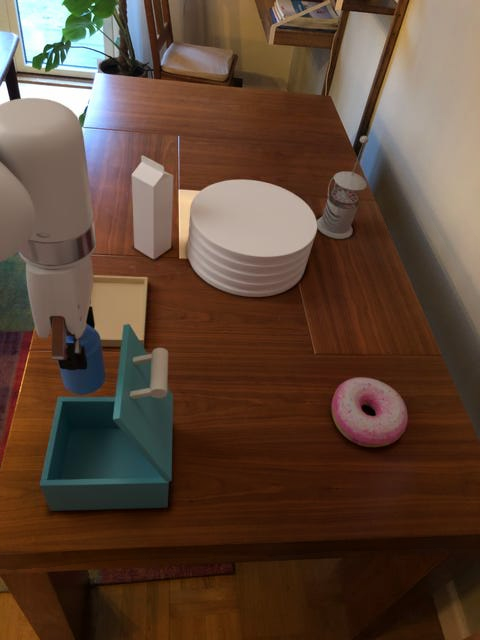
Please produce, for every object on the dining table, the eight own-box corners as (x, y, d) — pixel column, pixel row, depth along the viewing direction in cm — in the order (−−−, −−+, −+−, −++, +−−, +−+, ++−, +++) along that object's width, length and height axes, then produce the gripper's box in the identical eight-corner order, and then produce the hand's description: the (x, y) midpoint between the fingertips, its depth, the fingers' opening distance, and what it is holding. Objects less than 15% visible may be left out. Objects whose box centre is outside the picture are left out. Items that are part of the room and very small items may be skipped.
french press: (326, 240, 120) (356, 148, 102) (307, 213, 127) (332, 122, 109) (359, 236, 123) (395, 146, 105) (339, 210, 130) (369, 121, 112)
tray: (143, 347, 90) (143, 340, 89) (71, 346, 88) (69, 338, 86) (147, 284, 101) (147, 277, 100) (83, 282, 99) (82, 274, 98)
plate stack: (328, 276, 111) (342, 237, 103) (224, 312, 99) (231, 271, 91) (264, 210, 126) (272, 171, 117) (167, 233, 114) (168, 192, 105)
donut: (391, 389, 91) (401, 374, 87) (409, 454, 82) (421, 440, 78) (323, 385, 90) (330, 369, 86) (334, 450, 81) (342, 436, 77)
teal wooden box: (50, 510, 68) (39, 485, 62) (66, 426, 77) (58, 396, 71) (167, 507, 71) (168, 482, 64) (169, 426, 80) (170, 397, 73)
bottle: (71, 401, 63) (56, 344, 54) (57, 370, 66) (42, 311, 57) (111, 385, 65) (104, 328, 56) (97, 356, 68) (88, 297, 59)
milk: (151, 236, 112) (151, 149, 96) (171, 248, 110) (174, 161, 94) (133, 248, 109) (130, 159, 93) (153, 260, 107) (153, 172, 91)
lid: (112, 419, 51) (158, 410, 50) (123, 324, 60) (162, 316, 60) (165, 482, 64) (203, 475, 63) (168, 396, 73) (200, 389, 72)
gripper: (35, 182, 52) (60, 297, 66) (-10, 293, 41) (31, 405, 54) (105, 188, 53) (116, 300, 67) (80, 297, 42) (99, 406, 55)
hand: (78, 346), depth 60 cm, fingers closed on bottle, 5 cm apart
